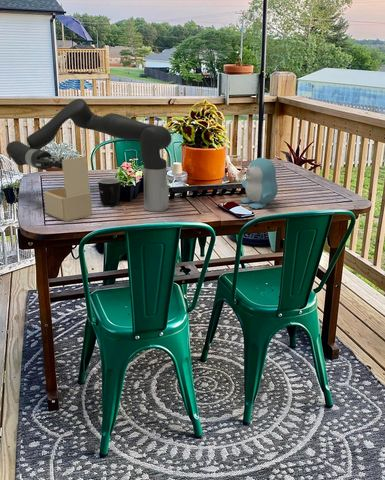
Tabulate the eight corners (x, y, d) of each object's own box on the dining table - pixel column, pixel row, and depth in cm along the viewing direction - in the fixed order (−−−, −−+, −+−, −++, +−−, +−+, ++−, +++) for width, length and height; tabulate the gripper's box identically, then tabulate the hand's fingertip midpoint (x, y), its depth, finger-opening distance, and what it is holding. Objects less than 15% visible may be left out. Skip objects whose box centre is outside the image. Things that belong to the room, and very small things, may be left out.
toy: (232, 198, 220) (235, 153, 213) (260, 195, 225) (264, 152, 218) (257, 213, 200) (261, 164, 192) (288, 210, 204) (292, 162, 197)
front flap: (61, 159, 178) (62, 159, 178) (85, 156, 185) (86, 156, 185) (66, 197, 182) (66, 197, 182) (89, 192, 190) (90, 192, 189)
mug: (97, 201, 210) (96, 178, 207) (118, 200, 213) (117, 177, 210) (102, 210, 200) (101, 185, 196) (124, 208, 203) (123, 184, 199)
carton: (44, 213, 194) (42, 191, 191) (71, 206, 203) (70, 185, 200) (64, 222, 185) (63, 198, 182) (93, 214, 194) (91, 192, 191)
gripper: (22, 151, 193) (46, 158, 182) (52, 147, 202) (76, 154, 191) (24, 170, 196) (48, 178, 185) (53, 165, 205) (78, 173, 194)
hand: (62, 166), depth 188 cm, fingers closed
